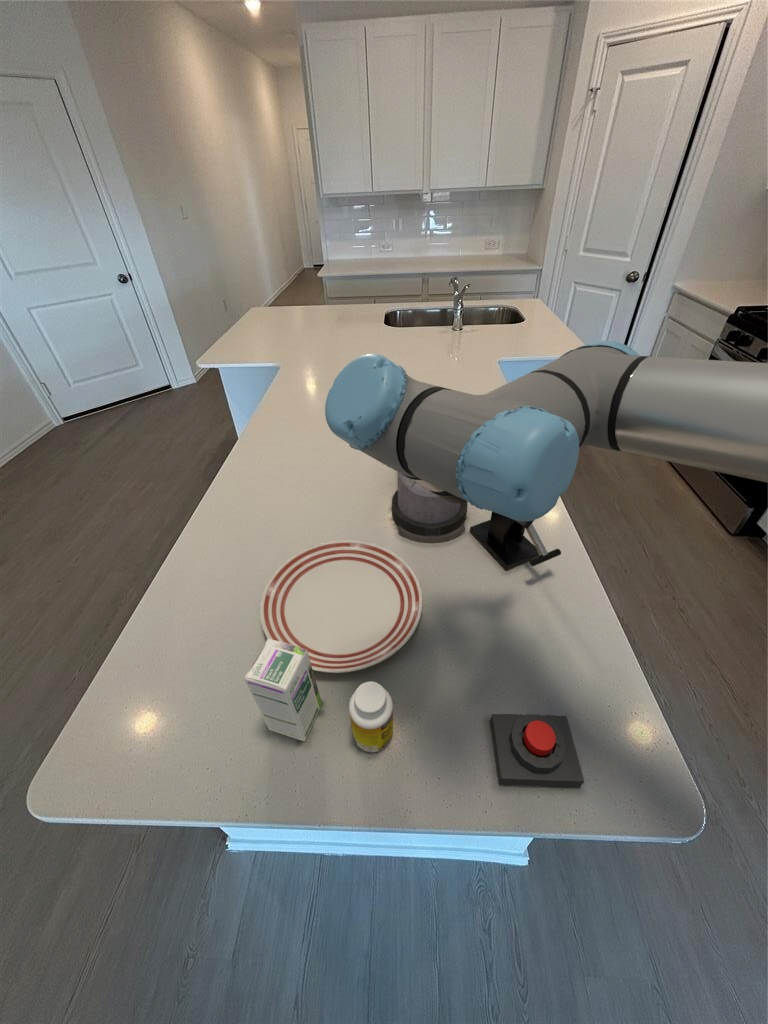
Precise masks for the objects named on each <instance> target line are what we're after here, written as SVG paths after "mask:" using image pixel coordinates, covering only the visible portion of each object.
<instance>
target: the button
mask: <svg viewBox="0 0 768 1024" xmlns="http://www.w3.org/2000/svg"><path fill="white" fill-rule="evenodd" d="M523 739H524V743H525V745H526V747H527V748H528V750H529V751H531V752H532V753H533V754H535V755H539V756H545V755H547V754H549V753H550V752H551V750H552V749H553V747H554V745H555V742H556V736H555V733H554V731H553V729H552V728H551V727H550V726H549V725H548V724H546V723H545V722H542V721H532V722H530V723H529V724H528V725H527V727H526V730H525V732H524V736H523Z"/></svg>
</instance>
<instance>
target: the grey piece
mask: <svg viewBox="0 0 768 1024" xmlns="http://www.w3.org/2000/svg"><path fill="white" fill-rule="evenodd" d="M406 480H407V477H406V476H404V475H402V474H401V473H399V472H398V471H397V490H396V491H395V492H394V494H393V495H392V498H391V517H392V520H393V522H394V524H395V525H396V526H397V534H398V535H399V536H401V537H402V538H405V539H408V540H410V541H414V542H417V543H423V544H438V543H445V542H449V541H452V540H454V539H456V538H458V537H460V536H462V535H463V534H465V533H466V528H465V527H466V525H465V522H466V519H467V512H468V502H466V503H451V502H448V501H446V500H445V499H443V498H441V497H439V496H438V495H436V494H434V493H432V492H431V491H430V490H429V489H427V488H425V487H423V486H421V485H420V484H418V483H417V482H416V484H415V485H414V486H412V487H411V486H409V485H408V484H407V483H406Z"/></svg>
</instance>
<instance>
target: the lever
mask: <svg viewBox="0 0 768 1024" xmlns="http://www.w3.org/2000/svg"><path fill="white" fill-rule="evenodd" d="M525 531H526V532H527V535H528V536H529V538H530V540H531V543H532V544H533V545H534V546H535V548H536V549H537V551H538V553H539V555H540V556H538V557H536V558H534V559H531V560H530V561H528V563H529V565H530V567H536V566H538V565H540V564H542V563H545V562H548V561H549V560H551V559H553V558H557V557H558V556H561V555H562V551H561V549H559V548H555V549H552V550H551V551H547V548H546V547H545V545H544V543H543V540H542V539H541V537H540V536H539V534H538V532H537V530H536V528H535V526H534V524H533V523H532V524H531V525H530V526H529V528H528V529H527V528H526V527H525Z"/></svg>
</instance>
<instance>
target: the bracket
mask: <svg viewBox="0 0 768 1024" xmlns="http://www.w3.org/2000/svg"><path fill="white" fill-rule="evenodd" d="M505 518H506V516H503V515H501V514H498V513H495V512H493V511H491V515H490V519H488V520H486V521H483V522H481V523H478V524H475V525H471V526H470V527H469V533H470V534H471V535H472V536H473V537H474V538H475V540H476V541H477V542H478V543H479V544H480V545H481V546H482V547H483V548H484V549H485V550H486V551H487V553H489V555H491V557H492V558H493V559H494V560H495V561H496V562H497V563H498V564H499V565H500V567H502V569H504V571H506V572H507V571H509V570H511V569H515V568H516V567H518V566H521V565H523V564H526V563H529V561H530V560H531V559H534V558H536V557H538V556H540V555H539V553H538V551H537V549H536V548H535V546H534V544H533V542H532V541H530V540H529V539H528V538H527V537H526V536H525V531H526V528H525V527H524V526H522V525H520V524H518V522H516V521H514V522H513V523H512V524H511V523H509V522H508V521H507V520H505Z"/></svg>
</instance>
